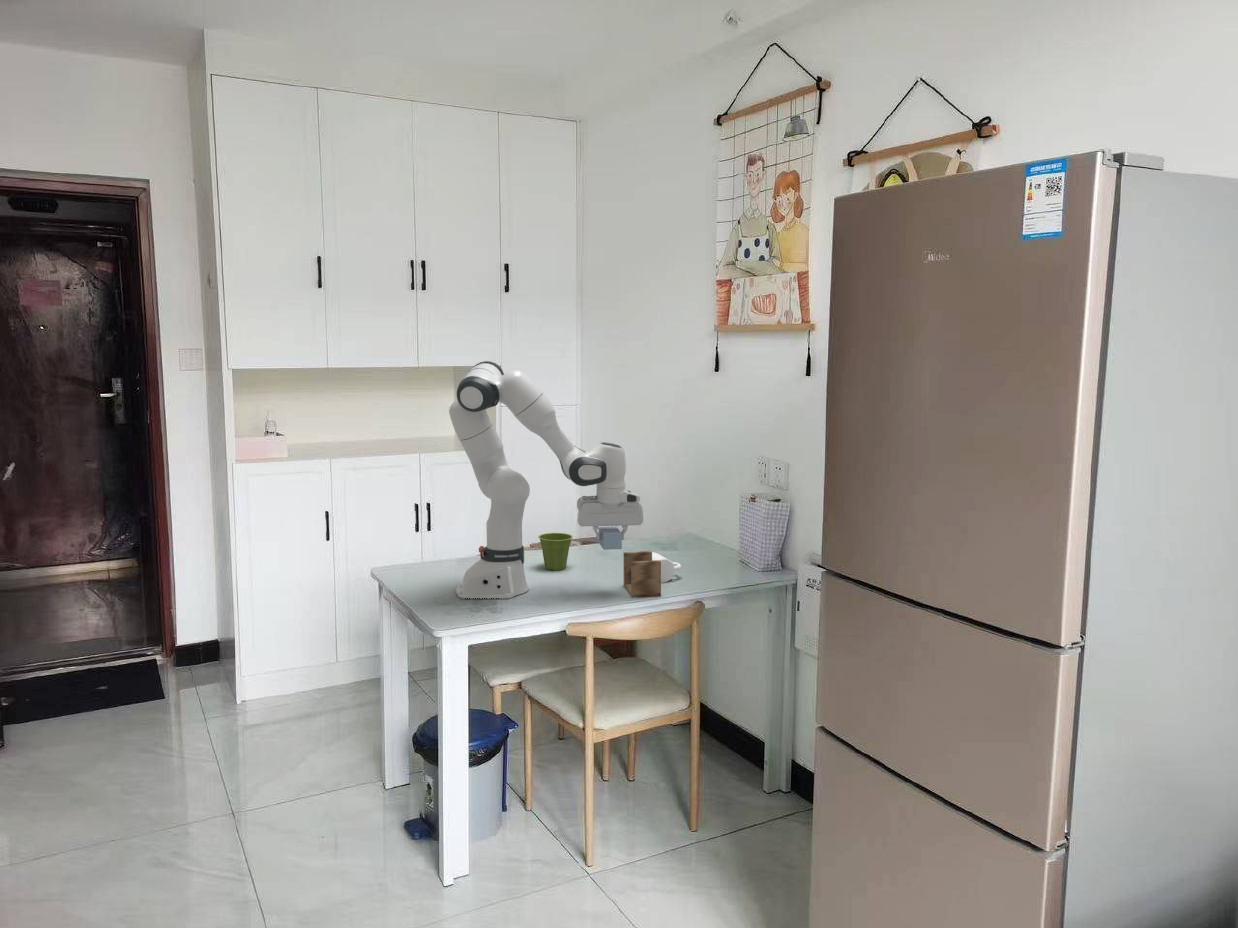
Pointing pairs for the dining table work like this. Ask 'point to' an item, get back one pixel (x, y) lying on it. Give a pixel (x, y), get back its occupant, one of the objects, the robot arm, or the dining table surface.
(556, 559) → the plant pot
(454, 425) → the robot arm
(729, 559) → the dining table surface
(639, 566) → the stand
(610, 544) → the light blue block
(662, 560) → the mug
